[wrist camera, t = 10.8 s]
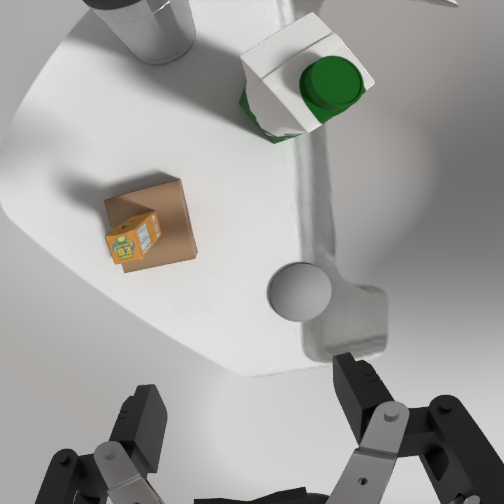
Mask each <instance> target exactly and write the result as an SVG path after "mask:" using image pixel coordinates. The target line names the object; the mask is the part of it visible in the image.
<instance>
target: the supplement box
mask: <svg viewBox="0 0 504 504" xmlns="http://www.w3.org/2000/svg"><path fill="white" fill-rule="evenodd" d="M160 235H161V230H160V226H159V221H158V217H157V213H156V211H151V212H147V213H143V214H139V215H135V216H132V217H131V218H129V219H128V220H126V221H125V222H123V223H122V224H120V225H119V226H118V227H116V228H115V229H113V230H112V231H111V232H109V233H108V234H107V235H106V236H105V239H106V241H107V244H108V246H109V249H110V251H111V254H112V257H113V260H114V263H115V265H117V264H122V263H127V262H131V261H136V260H141V259H143V258H144V256H145V255H146V253H147V252H148V251H149V250H150V248H151V247H152V246H153V244H154V243H155V242H156V240H157V239H158V238H159V237H160Z"/></svg>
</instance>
